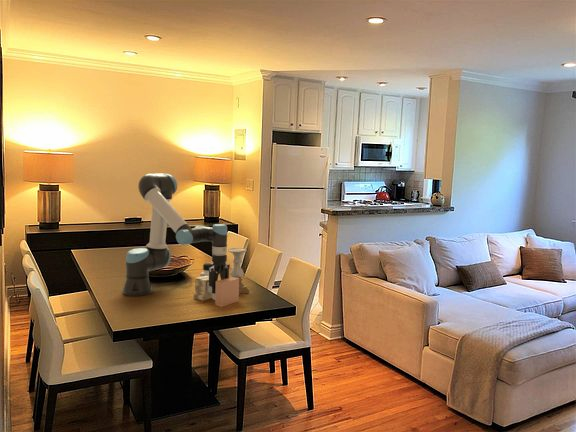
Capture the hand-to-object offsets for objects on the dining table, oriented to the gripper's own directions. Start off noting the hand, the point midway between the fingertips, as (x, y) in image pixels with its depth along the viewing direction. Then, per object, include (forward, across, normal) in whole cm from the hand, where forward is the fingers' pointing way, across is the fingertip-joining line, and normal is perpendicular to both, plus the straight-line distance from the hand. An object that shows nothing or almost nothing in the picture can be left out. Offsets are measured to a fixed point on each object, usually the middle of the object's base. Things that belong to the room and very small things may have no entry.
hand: (218, 298), depth 257 cm
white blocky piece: (+2, 0, +10) cm, 10 cm away
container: (+2, +19, +26) cm, 33 cm away
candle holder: (+2, +20, +6) cm, 21 cm away
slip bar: (-3, 0, +2) cm, 3 cm away
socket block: (+2, 0, -6) cm, 7 cm away
